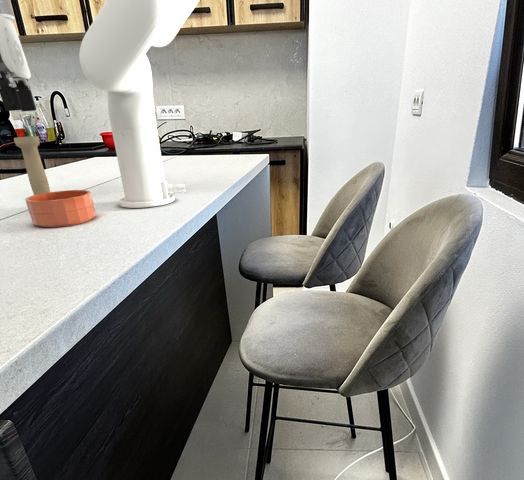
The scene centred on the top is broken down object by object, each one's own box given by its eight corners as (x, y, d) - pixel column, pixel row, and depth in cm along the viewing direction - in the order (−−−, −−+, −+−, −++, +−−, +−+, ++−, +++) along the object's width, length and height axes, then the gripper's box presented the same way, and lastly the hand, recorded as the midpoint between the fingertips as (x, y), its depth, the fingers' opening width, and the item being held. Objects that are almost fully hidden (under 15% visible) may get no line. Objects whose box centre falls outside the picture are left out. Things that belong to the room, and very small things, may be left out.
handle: (58, 203, 106) (39, 135, 98) (55, 208, 100) (35, 136, 93) (37, 205, 105) (16, 137, 97) (33, 210, 99) (11, 138, 92)
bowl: (100, 212, 93) (95, 188, 91) (90, 225, 82) (83, 198, 80) (43, 217, 92) (35, 192, 89) (24, 230, 81) (16, 203, 79)
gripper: (-6, -1, 77) (27, 108, 85) (25, 18, 92) (50, 109, 100) (-50, 2, 76) (-13, 111, 85) (-11, 20, 91) (17, 112, 100)
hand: (21, 110), depth 93 cm, fingers open, 9 cm apart
